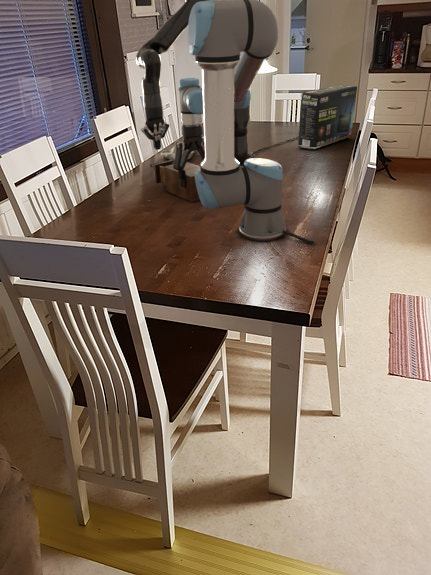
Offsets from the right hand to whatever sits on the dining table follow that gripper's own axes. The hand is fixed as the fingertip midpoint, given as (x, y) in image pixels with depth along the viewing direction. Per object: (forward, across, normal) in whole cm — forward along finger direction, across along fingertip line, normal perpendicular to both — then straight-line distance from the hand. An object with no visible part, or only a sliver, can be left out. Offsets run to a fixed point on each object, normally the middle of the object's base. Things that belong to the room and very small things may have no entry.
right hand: (195, 183), depth 179 cm
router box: (+5, -99, -14) cm, 100 cm away
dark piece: (+4, 0, -16) cm, 17 cm away
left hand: (-9, 0, -25) cm, 26 cm away
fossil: (+5, -28, -50) cm, 57 cm away
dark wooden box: (+5, 0, -4) cm, 7 cm away
